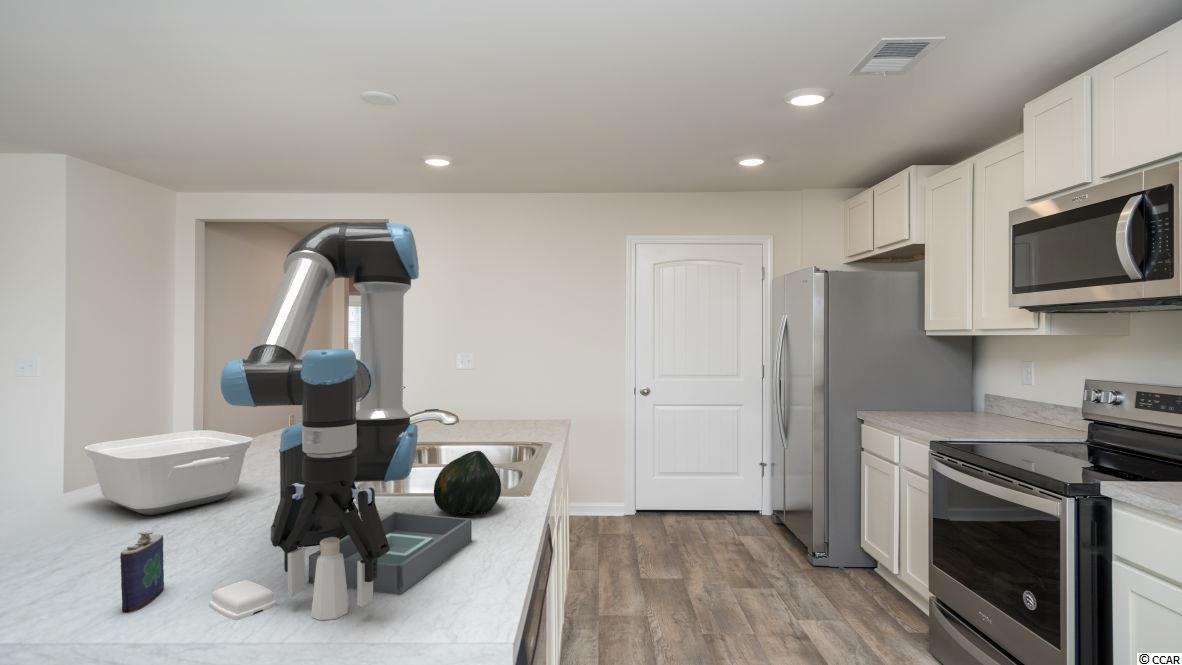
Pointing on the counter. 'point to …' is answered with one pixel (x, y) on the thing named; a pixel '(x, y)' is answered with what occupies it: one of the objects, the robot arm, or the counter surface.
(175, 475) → the white plastic tub
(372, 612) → the counter surface
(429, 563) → the bin
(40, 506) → the counter surface
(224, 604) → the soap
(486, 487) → the squash
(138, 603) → the flask
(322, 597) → the salt shaker
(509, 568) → the counter surface
